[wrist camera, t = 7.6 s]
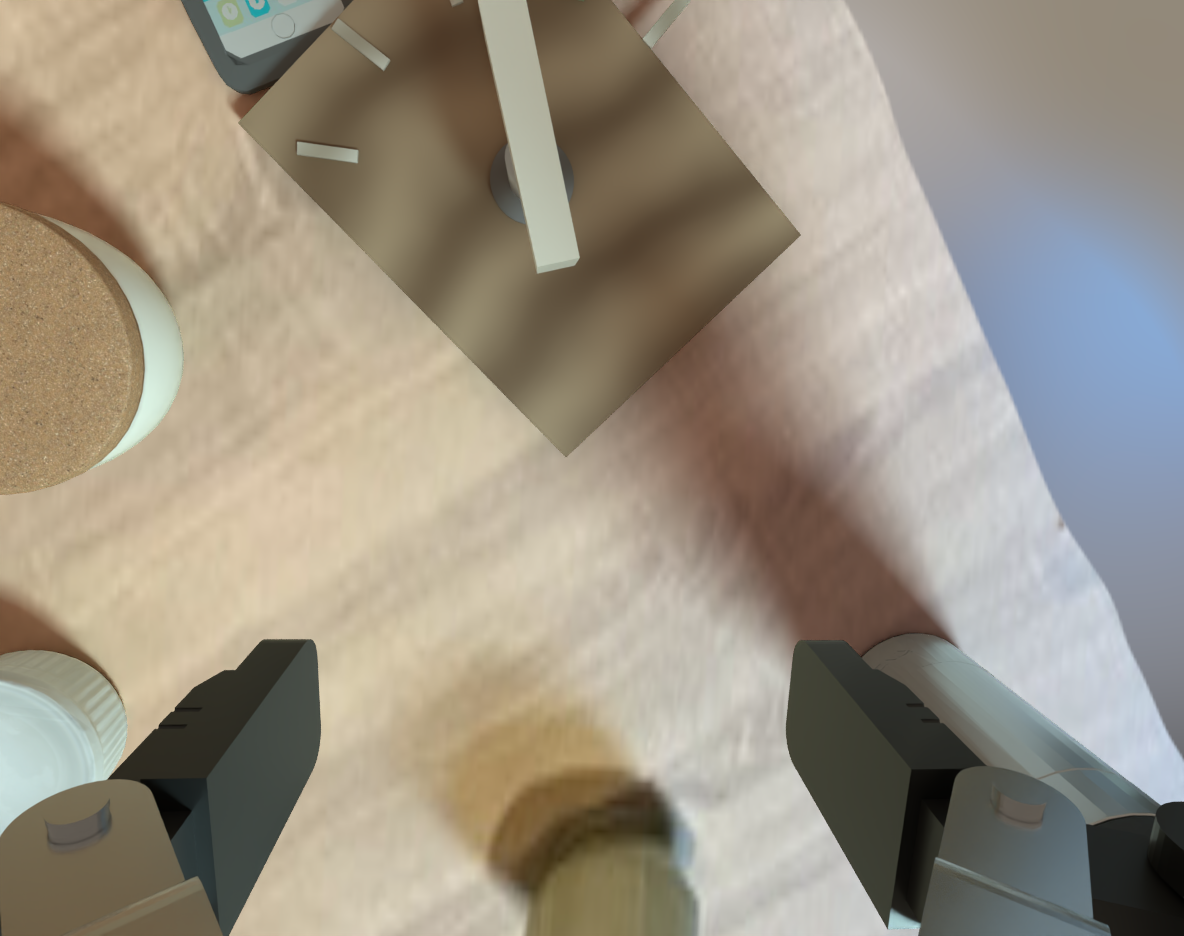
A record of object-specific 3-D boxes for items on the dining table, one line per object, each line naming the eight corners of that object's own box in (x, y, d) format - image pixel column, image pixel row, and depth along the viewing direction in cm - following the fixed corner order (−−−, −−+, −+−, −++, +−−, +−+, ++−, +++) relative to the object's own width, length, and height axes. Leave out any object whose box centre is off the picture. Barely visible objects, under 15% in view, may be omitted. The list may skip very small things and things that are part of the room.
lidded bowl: (-72, 322, 37) (-320, 321, 26) (104, 173, 36) (-78, 110, 26) (105, 500, 40) (-55, 566, 29) (272, 365, 39) (171, 382, 28)
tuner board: (830, 201, 39) (844, 195, 38) (565, 452, 41) (566, 458, 39) (536, -173, 35) (536, -199, 33) (249, 130, 36) (235, 121, 35)
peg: (575, 271, 37) (586, 256, 28) (531, 281, 37) (529, 268, 28) (502, -75, 33) (490, -212, 25) (453, -65, 33) (424, -200, 25)
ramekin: (-58, 779, 43) (-139, 841, 37) (-39, 613, 41) (-123, 656, 35) (133, 811, 44) (79, 876, 39) (159, 653, 42) (107, 700, 37)
